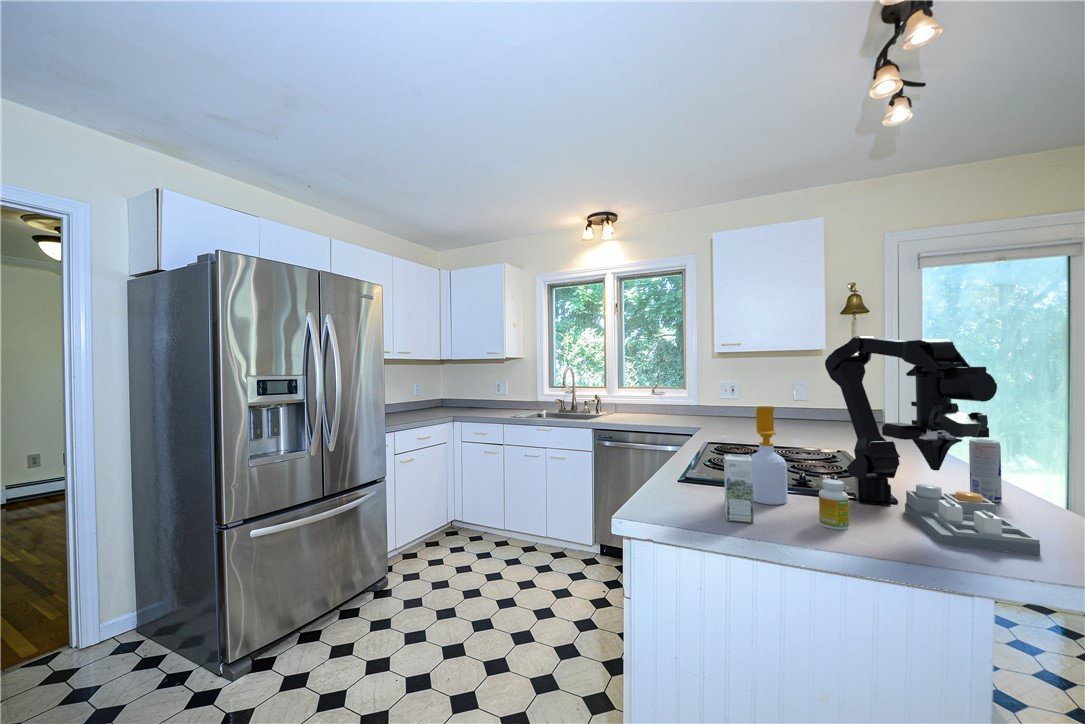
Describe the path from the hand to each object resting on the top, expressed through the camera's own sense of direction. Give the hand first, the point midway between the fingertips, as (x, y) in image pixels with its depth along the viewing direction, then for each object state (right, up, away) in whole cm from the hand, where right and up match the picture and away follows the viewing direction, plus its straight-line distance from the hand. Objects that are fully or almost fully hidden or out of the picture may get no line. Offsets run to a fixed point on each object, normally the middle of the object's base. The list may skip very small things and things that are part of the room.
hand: (935, 470), depth 95 cm
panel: (+3, -12, -3) cm, 13 cm away
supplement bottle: (-21, -13, +1) cm, 24 cm away
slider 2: (+1, -10, -10) cm, 14 cm away
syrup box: (-39, -13, +7) cm, 42 cm away
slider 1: (+1, -10, -3) cm, 10 cm away
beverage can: (+27, -12, +16) cm, 33 cm away
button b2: (+9, -9, +2) cm, 13 cm away
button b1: (+3, -8, +5) cm, 10 cm away
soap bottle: (-26, -13, +20) cm, 35 cm away
